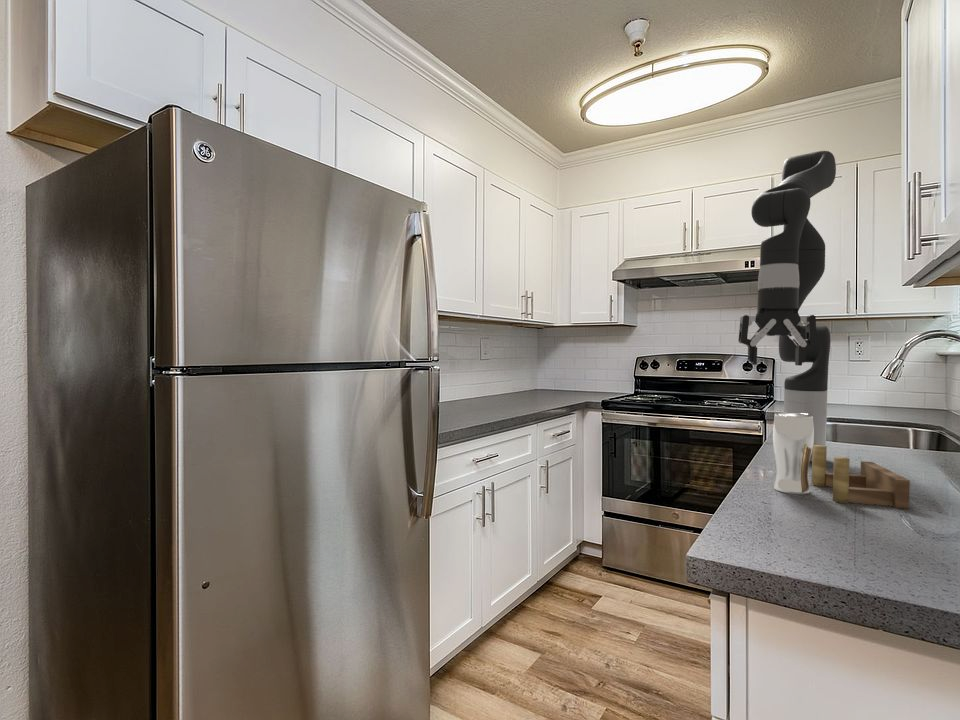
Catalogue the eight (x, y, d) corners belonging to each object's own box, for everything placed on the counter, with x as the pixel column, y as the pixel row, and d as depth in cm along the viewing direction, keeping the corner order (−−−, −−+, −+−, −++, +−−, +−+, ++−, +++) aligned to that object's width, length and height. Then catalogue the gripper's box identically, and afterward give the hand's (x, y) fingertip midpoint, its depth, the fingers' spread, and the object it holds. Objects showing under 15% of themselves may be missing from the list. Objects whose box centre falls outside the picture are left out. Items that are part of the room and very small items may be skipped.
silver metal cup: (772, 483, 112) (774, 411, 111) (812, 488, 108) (814, 413, 108) (770, 491, 106) (772, 415, 105) (812, 497, 102) (814, 417, 102)
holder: (809, 482, 113) (810, 444, 113) (871, 486, 110) (872, 447, 110) (836, 503, 98) (837, 459, 98) (908, 508, 96) (910, 463, 95)
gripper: (809, 288, 116) (807, 365, 116) (737, 289, 119) (735, 363, 119) (823, 285, 108) (820, 366, 109) (745, 285, 112) (743, 364, 112)
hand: (775, 365), depth 114 cm, fingers open, 8 cm apart
